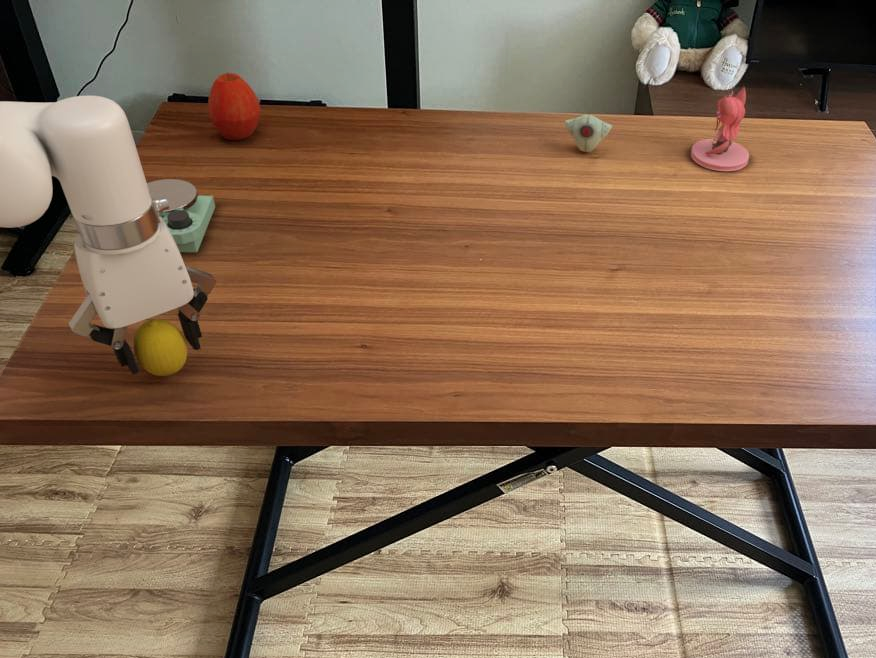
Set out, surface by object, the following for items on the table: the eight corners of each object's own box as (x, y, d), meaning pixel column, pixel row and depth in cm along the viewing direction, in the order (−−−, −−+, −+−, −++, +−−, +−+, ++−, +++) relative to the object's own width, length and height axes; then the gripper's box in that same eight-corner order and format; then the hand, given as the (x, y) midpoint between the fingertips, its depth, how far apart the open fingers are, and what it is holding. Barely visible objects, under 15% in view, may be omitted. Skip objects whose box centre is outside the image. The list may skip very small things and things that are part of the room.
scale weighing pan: (145, 223, 120) (143, 218, 119) (121, 195, 125) (120, 190, 124) (208, 204, 124) (206, 199, 123) (183, 177, 129) (181, 172, 128)
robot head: (610, 149, 148) (614, 112, 144) (607, 161, 145) (612, 123, 141) (563, 144, 149) (566, 106, 144) (560, 155, 146) (563, 117, 141)
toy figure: (713, 138, 153) (727, 71, 144) (759, 159, 148) (775, 91, 140) (679, 156, 148) (690, 87, 139) (724, 178, 143) (739, 108, 135)
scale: (202, 255, 121) (196, 234, 118) (121, 255, 120) (114, 233, 118) (221, 206, 130) (216, 186, 128) (146, 206, 129) (140, 185, 127)
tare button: (188, 230, 119) (185, 221, 118) (167, 230, 119) (164, 220, 118) (193, 219, 122) (190, 210, 120) (172, 219, 121) (169, 210, 120)
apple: (267, 144, 144) (255, 81, 137) (215, 149, 142) (201, 86, 135) (262, 122, 150) (251, 60, 143) (212, 127, 148) (198, 64, 140)
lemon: (196, 357, 106) (180, 304, 100) (190, 387, 102) (174, 334, 96) (148, 360, 105) (129, 307, 99) (141, 391, 101) (121, 338, 95)
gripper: (186, 182, 95) (220, 312, 107) (16, 231, 87) (75, 366, 99) (214, 212, 91) (247, 344, 103) (39, 267, 83) (97, 403, 95)
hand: (162, 354), depth 101 cm, fingers open, 6 cm apart
